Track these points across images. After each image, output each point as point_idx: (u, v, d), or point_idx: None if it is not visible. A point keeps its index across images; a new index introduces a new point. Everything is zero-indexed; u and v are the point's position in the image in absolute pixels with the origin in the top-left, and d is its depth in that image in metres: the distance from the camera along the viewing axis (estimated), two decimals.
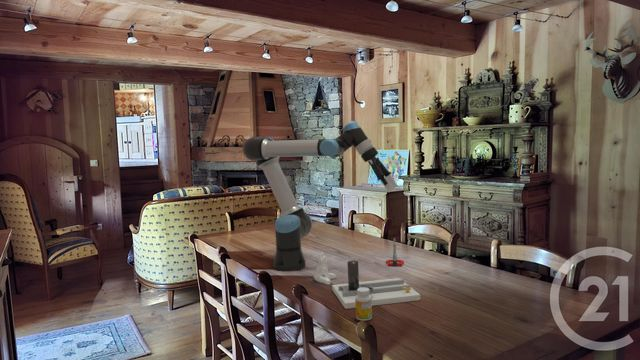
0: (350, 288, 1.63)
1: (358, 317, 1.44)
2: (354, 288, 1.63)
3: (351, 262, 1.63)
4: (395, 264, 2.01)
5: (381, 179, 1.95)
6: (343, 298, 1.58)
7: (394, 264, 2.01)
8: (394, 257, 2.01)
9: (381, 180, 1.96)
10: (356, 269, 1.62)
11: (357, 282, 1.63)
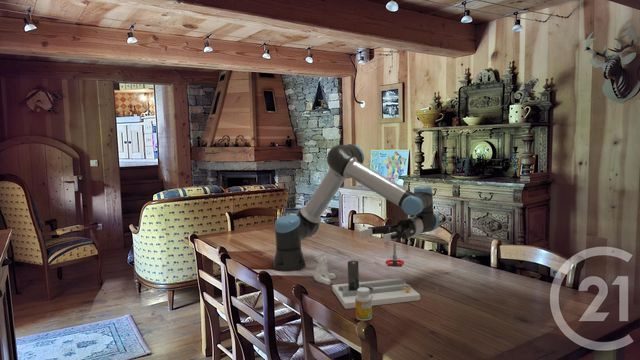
0: (350, 288, 1.63)
1: (358, 317, 1.44)
2: (354, 288, 1.63)
3: (351, 262, 1.63)
4: (395, 264, 2.01)
5: (398, 234, 1.66)
6: (343, 298, 1.58)
7: (394, 264, 2.01)
8: (394, 257, 2.01)
9: (395, 233, 1.67)
10: (356, 269, 1.62)
11: (357, 282, 1.63)
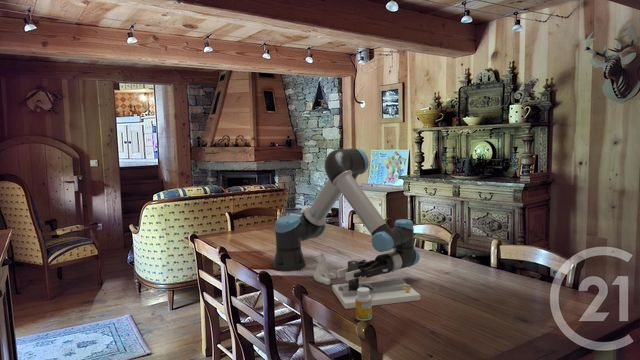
0: (350, 288, 1.63)
1: (358, 317, 1.44)
2: (354, 288, 1.63)
3: (351, 262, 1.63)
4: None
5: (362, 273, 1.61)
6: (343, 298, 1.58)
7: None
8: None
9: (359, 271, 1.62)
10: (356, 269, 1.62)
11: (357, 282, 1.63)
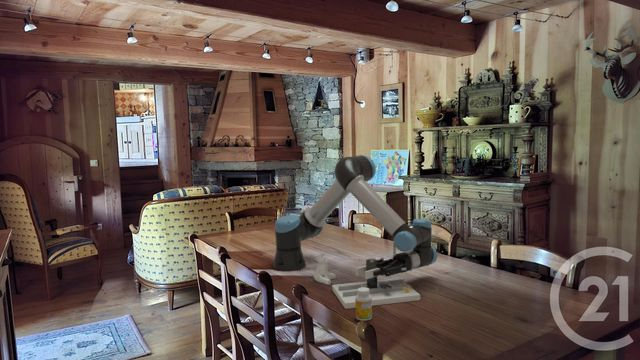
0: (369, 286, 1.65)
1: (358, 317, 1.44)
2: (373, 286, 1.64)
3: (370, 260, 1.64)
4: None
5: (381, 271, 1.62)
6: (343, 298, 1.58)
7: None
8: None
9: (378, 269, 1.63)
10: (375, 267, 1.64)
11: (375, 280, 1.64)
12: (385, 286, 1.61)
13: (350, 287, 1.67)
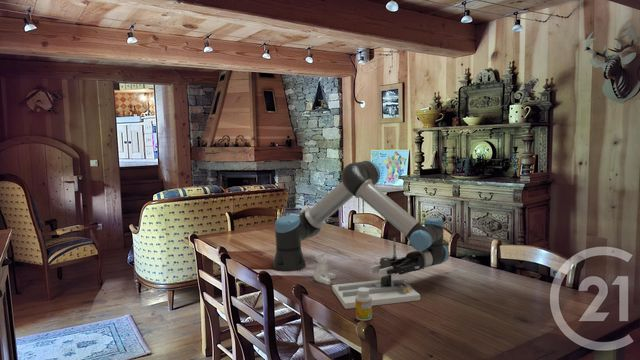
0: (383, 284, 1.66)
1: (358, 317, 1.44)
2: (387, 284, 1.65)
3: (384, 259, 1.66)
4: None
5: (395, 269, 1.64)
6: (343, 298, 1.58)
7: None
8: None
9: (392, 268, 1.65)
10: (389, 266, 1.65)
11: (390, 279, 1.65)
12: (399, 284, 1.62)
13: (350, 287, 1.67)
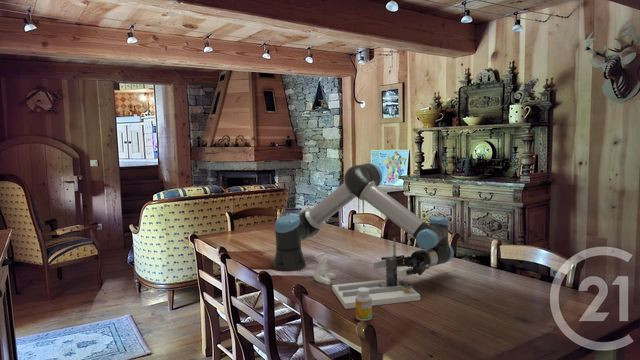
0: (388, 284, 1.66)
1: (358, 317, 1.44)
2: (393, 284, 1.66)
3: (389, 258, 1.66)
4: None
5: (414, 270, 1.62)
6: (343, 298, 1.58)
7: None
8: None
9: (411, 268, 1.63)
10: (395, 265, 1.65)
11: (395, 278, 1.66)
12: (405, 284, 1.63)
13: (350, 287, 1.67)
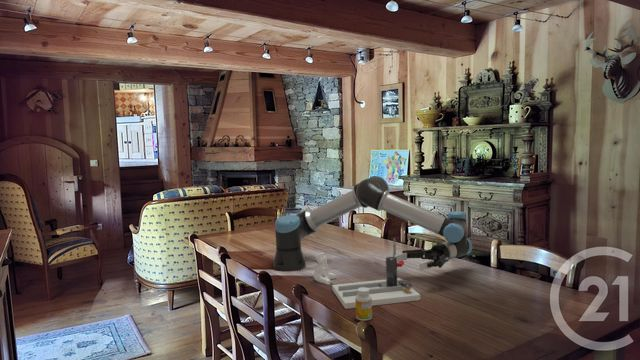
0: (388, 284, 1.66)
1: (358, 317, 1.44)
2: (393, 284, 1.66)
3: (389, 258, 1.66)
4: None
5: (434, 263, 1.70)
6: (343, 298, 1.58)
7: None
8: None
9: (431, 261, 1.71)
10: (395, 265, 1.65)
11: (395, 278, 1.66)
12: (405, 284, 1.63)
13: (350, 287, 1.67)
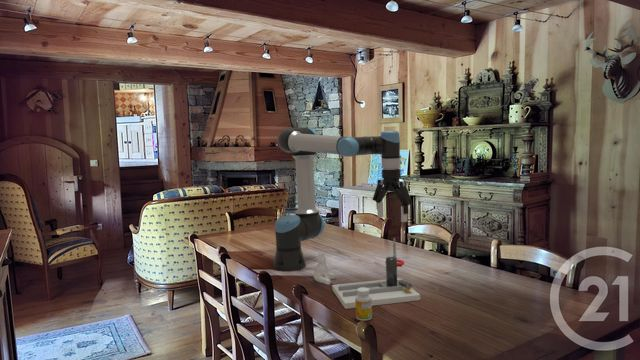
0: (388, 284, 1.66)
1: (358, 317, 1.44)
2: (393, 284, 1.66)
3: (389, 258, 1.66)
4: None
5: (406, 206, 1.76)
6: (343, 298, 1.58)
7: None
8: None
9: (403, 207, 1.77)
10: (395, 265, 1.65)
11: (395, 278, 1.66)
12: (405, 284, 1.63)
13: (350, 287, 1.67)
